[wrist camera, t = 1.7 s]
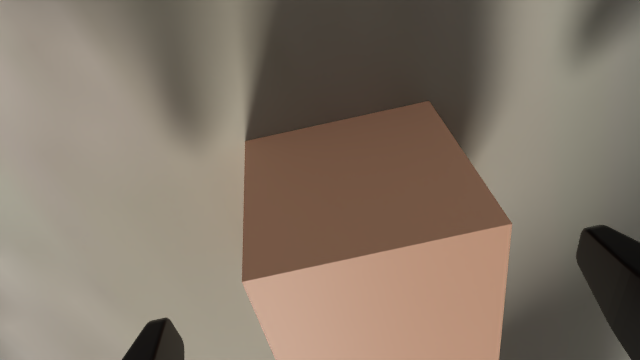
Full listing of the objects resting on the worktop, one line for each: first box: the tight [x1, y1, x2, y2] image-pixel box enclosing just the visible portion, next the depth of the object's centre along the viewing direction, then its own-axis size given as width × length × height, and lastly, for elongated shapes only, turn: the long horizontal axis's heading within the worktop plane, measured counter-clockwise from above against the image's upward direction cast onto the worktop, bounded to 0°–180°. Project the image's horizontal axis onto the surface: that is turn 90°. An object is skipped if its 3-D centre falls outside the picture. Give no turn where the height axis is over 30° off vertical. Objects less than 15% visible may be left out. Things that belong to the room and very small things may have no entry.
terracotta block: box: [242, 101, 512, 360], centre depth 11 cm, size 4×4×4 cm
